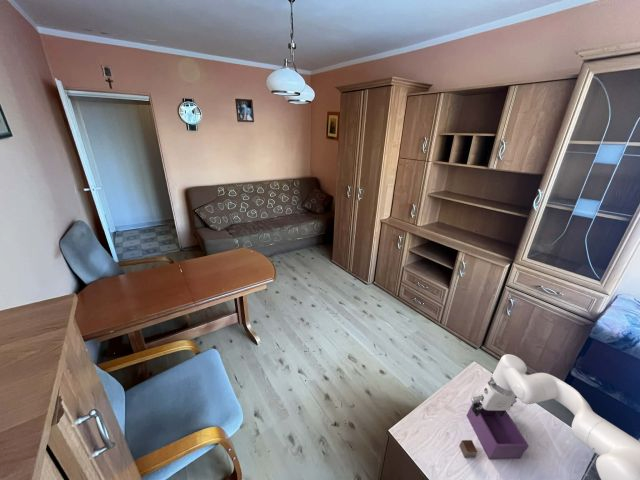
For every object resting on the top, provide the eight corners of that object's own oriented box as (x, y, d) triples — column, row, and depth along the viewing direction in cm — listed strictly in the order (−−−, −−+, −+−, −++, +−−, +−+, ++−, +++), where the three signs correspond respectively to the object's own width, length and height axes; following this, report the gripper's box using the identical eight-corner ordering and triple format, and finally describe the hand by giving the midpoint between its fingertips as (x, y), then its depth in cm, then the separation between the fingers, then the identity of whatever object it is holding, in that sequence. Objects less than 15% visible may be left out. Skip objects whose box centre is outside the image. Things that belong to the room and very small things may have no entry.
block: (474, 457, 112) (477, 451, 110) (464, 457, 111) (467, 452, 110) (468, 445, 116) (471, 440, 114) (459, 445, 115) (461, 440, 114)
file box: (519, 458, 112) (529, 445, 108) (488, 459, 111) (496, 446, 107) (493, 415, 128) (500, 402, 124) (466, 415, 127) (472, 402, 123)
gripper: (485, 394, 91) (470, 423, 99) (533, 394, 92) (514, 422, 100) (473, 374, 98) (460, 403, 106) (518, 375, 99) (501, 403, 107)
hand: (486, 412), depth 103 cm, fingers open, 9 cm apart
